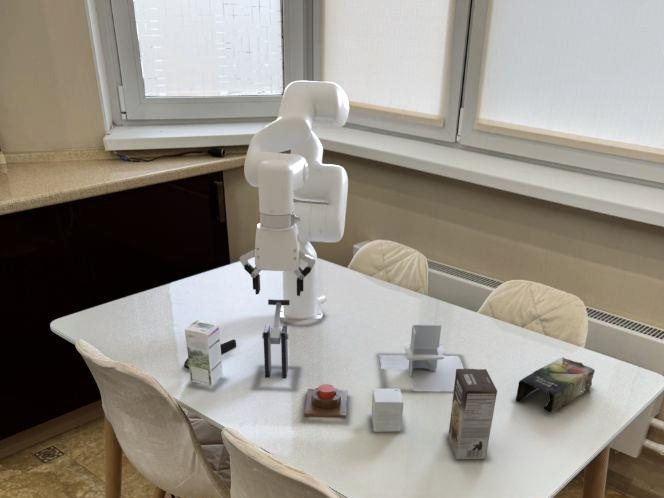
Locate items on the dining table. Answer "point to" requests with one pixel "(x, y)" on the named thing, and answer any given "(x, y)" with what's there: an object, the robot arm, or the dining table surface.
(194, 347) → the syrup box
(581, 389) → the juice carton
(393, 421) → the product box
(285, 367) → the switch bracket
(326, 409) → the button housing
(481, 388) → the coffee box
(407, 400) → the dining table surface
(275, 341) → the switch lever
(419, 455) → the dining table surface
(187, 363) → the electric trimmer
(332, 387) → the button
